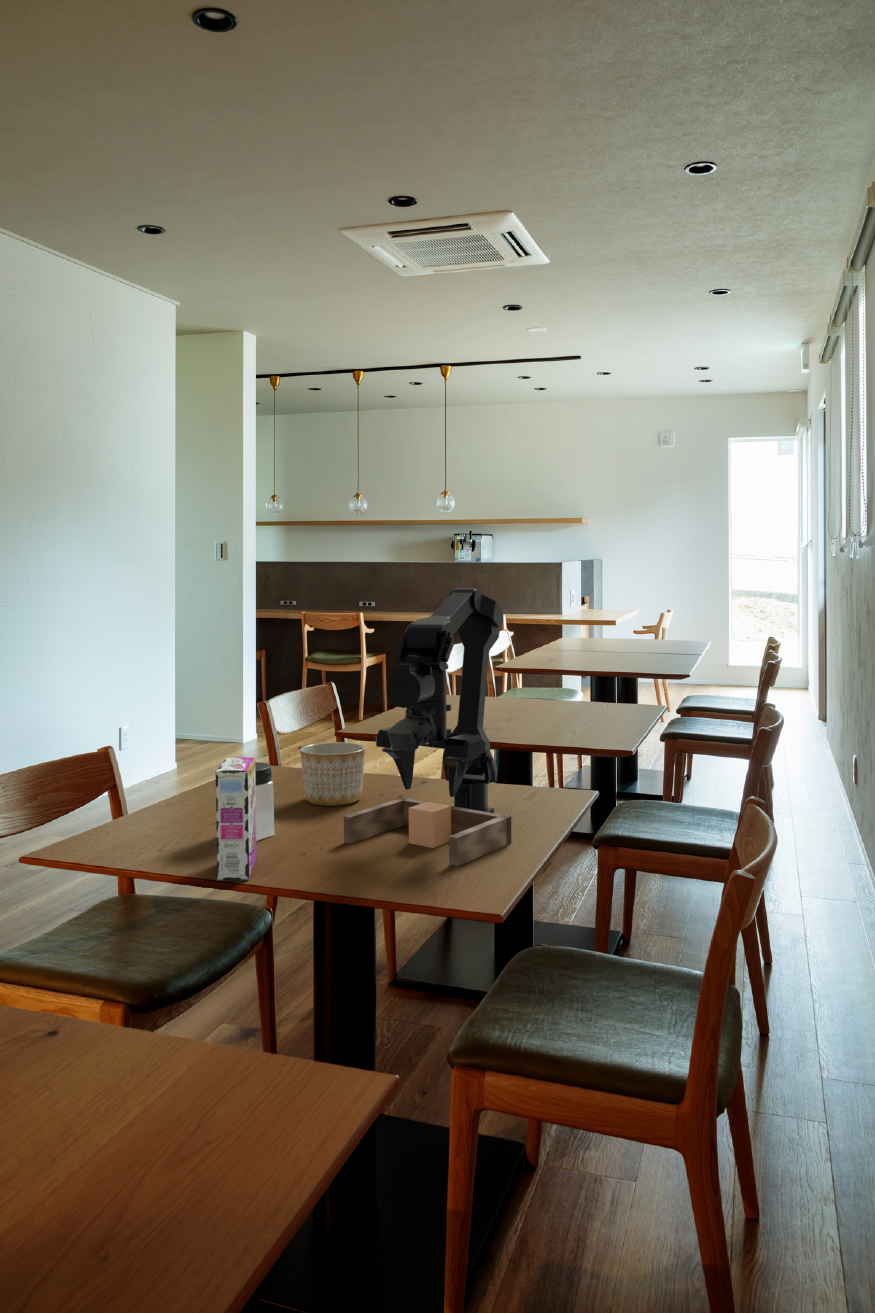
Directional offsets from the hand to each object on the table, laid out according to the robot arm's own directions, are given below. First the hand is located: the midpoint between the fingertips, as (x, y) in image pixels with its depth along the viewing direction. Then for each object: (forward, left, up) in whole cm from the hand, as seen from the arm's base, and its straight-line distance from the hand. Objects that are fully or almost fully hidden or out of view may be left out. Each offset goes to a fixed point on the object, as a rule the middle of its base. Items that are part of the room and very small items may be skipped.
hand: (429, 792), depth 160 cm
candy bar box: (+29, -15, -9) cm, 33 cm away
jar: (+15, -28, -9) cm, 33 cm away
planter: (-12, -33, -9) cm, 36 cm away
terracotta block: (0, 0, -8) cm, 8 cm away
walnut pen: (+2, 0, -8) cm, 8 cm away
